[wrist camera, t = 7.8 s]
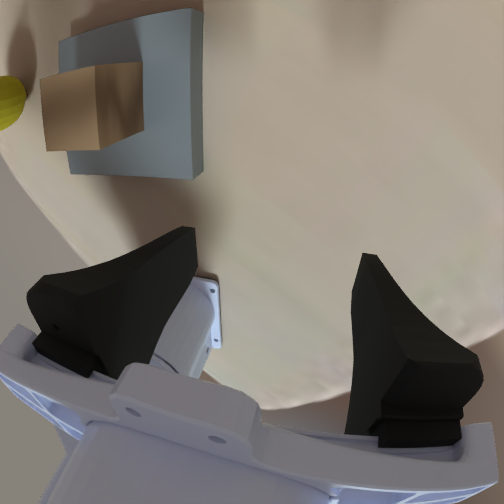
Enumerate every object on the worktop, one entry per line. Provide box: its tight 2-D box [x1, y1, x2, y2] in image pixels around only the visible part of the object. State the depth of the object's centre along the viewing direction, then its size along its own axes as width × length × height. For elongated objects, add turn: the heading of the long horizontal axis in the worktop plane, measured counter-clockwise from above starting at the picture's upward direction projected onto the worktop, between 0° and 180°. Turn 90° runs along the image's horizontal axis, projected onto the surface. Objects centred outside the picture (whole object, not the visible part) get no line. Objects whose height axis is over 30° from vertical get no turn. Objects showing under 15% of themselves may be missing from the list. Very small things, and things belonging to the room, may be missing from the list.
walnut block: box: [40, 62, 144, 151], centre depth 16 cm, size 5×5×5 cm
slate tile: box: [59, 8, 203, 180], centre depth 19 cm, size 12×12×2 cm
